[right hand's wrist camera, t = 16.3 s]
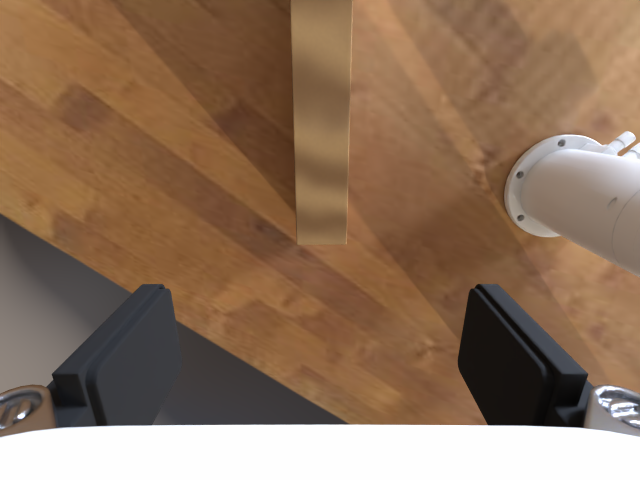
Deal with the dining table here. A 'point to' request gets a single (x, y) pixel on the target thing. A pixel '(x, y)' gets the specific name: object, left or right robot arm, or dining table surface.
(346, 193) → the beam
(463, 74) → the dining table surface
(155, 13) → the dining table surface
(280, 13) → the dining table surface
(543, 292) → the dining table surface
